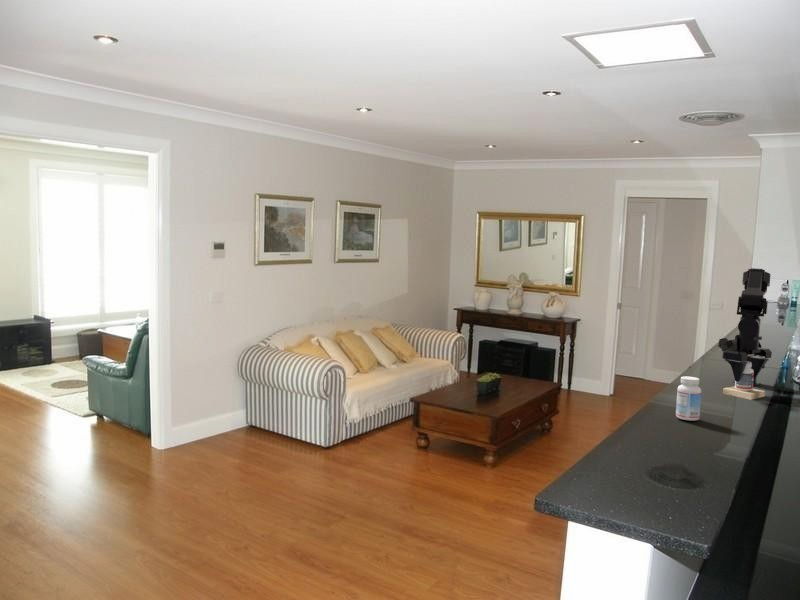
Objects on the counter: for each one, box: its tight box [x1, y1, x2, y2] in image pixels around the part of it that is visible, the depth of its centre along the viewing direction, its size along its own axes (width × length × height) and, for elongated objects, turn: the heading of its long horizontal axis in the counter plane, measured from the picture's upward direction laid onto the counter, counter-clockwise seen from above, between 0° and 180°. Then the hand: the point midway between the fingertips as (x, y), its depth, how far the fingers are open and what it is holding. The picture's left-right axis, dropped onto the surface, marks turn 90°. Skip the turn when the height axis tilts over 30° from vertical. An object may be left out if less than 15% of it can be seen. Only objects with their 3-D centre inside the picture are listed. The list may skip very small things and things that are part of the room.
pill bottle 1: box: [675, 375, 702, 422], centre depth 175 cm, size 6×6×11 cm
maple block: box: [722, 385, 766, 401], centre depth 206 cm, size 9×9×2 cm
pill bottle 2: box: [734, 361, 754, 391], centre depth 206 cm, size 5×5×9 cm
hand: (745, 380), depth 206 cm, fingers open, 9 cm apart
